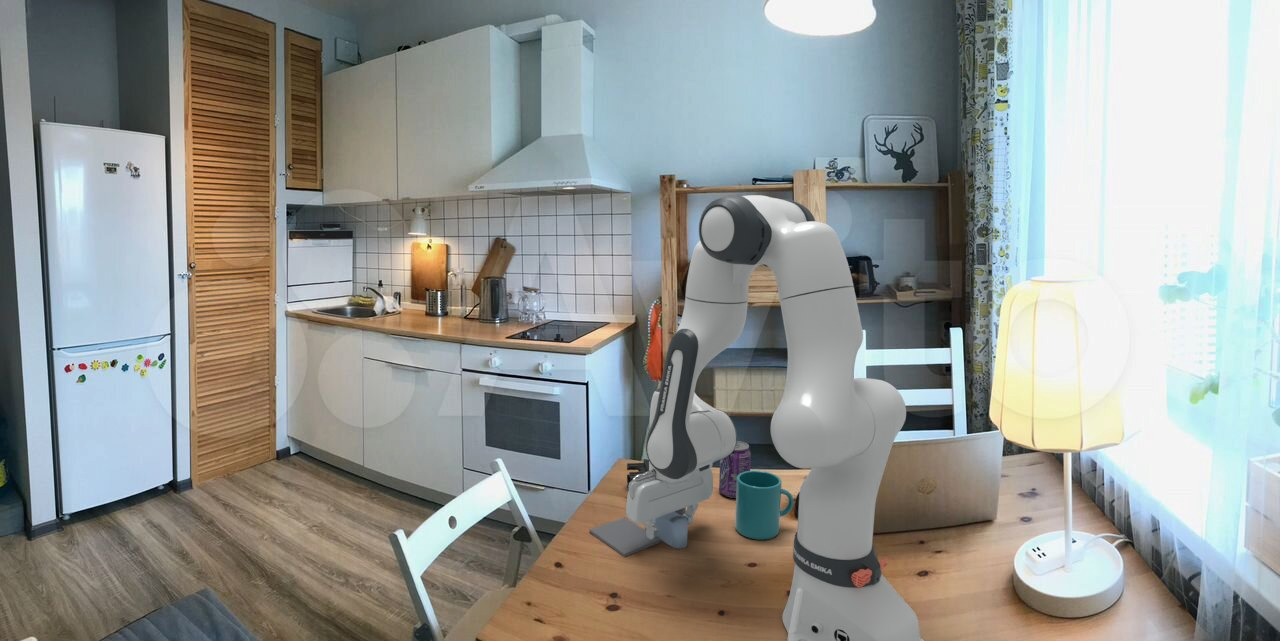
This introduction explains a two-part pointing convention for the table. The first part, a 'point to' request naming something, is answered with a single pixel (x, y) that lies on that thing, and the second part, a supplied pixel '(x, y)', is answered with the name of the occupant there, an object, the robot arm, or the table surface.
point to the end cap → (636, 466)
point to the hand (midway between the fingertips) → (670, 530)
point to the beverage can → (734, 468)
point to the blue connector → (672, 529)
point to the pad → (624, 536)
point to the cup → (759, 504)
